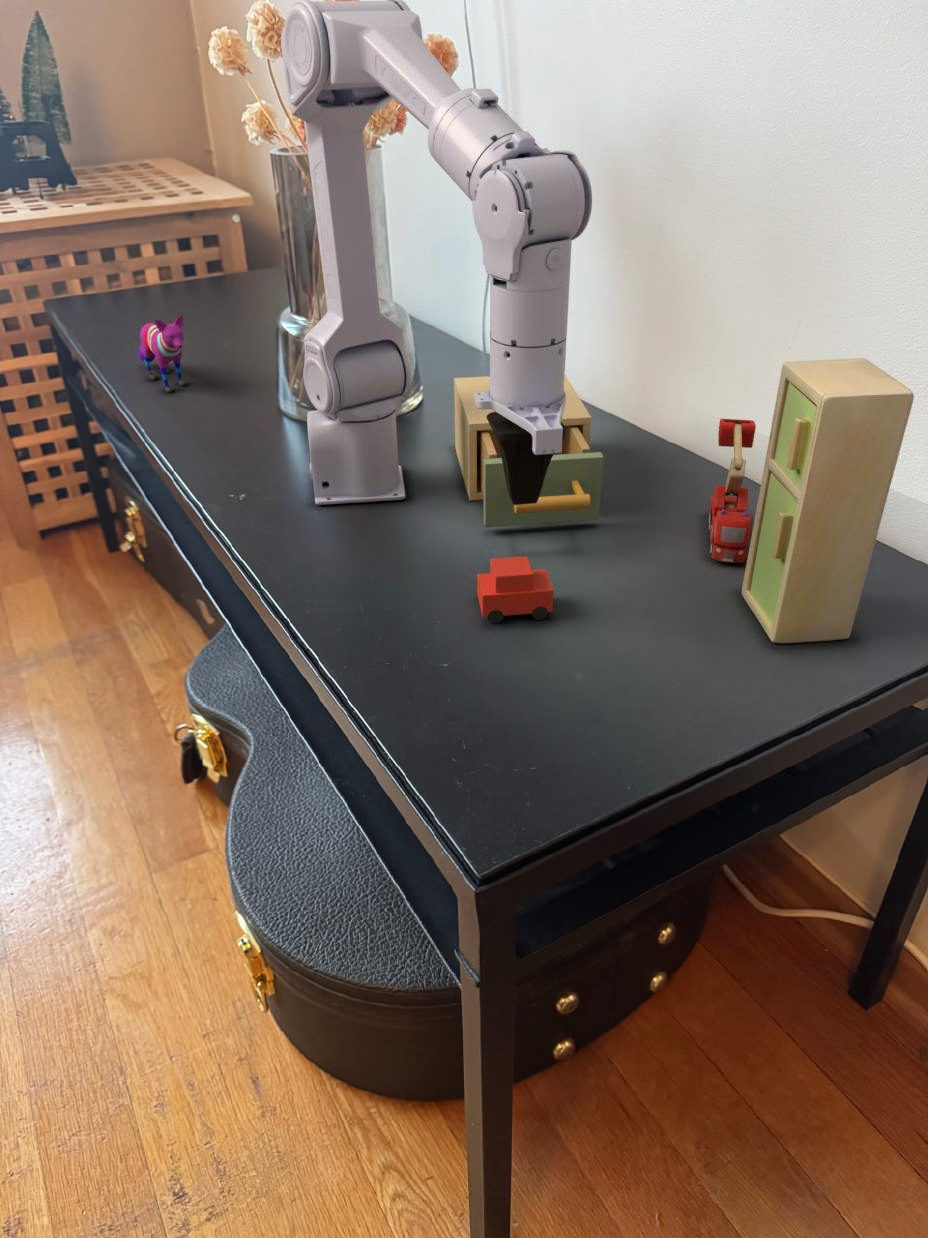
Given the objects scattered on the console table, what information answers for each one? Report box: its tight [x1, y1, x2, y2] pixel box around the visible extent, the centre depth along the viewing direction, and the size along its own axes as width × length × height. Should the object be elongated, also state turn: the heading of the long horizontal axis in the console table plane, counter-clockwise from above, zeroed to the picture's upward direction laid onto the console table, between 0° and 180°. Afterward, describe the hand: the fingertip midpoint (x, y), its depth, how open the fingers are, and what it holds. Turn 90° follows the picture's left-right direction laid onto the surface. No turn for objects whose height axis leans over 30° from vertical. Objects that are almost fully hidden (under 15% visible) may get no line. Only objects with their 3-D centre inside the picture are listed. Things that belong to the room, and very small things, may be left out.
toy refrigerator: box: [741, 357, 915, 644], centre depth 71 cm, size 8×7×21 cm
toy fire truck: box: [707, 418, 757, 564], centre depth 87 cm, size 3×14×10 cm, turn 168°
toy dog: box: [137, 314, 187, 393], centre depth 124 cm, size 4×18×10 cm, turn 36°
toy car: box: [476, 555, 555, 624], centre depth 77 cm, size 6×4×4 cm, turn 97°
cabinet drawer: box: [477, 425, 604, 528], centre depth 91 cm, size 17×11×7 cm, turn 7°
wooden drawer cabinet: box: [453, 374, 592, 501], centre depth 99 cm, size 14×13×9 cm
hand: (523, 500), depth 75 cm, fingers closed
